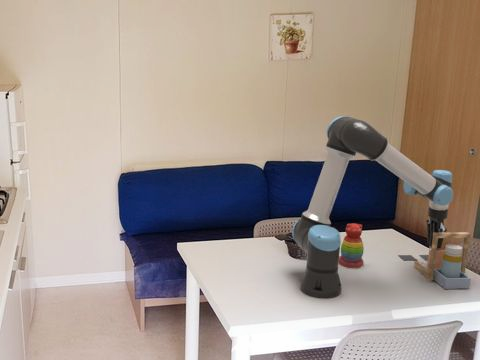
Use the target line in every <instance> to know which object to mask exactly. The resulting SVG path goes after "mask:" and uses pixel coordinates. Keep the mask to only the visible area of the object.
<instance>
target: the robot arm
mask: <svg viewBox="0 0 480 360" xmlns="http://www.w3.org/2000/svg"><path fill="white" fill-rule="evenodd" d="M326 128H327V129H326V136H327V142H326V146H325V149H326V150H327V154H326V158H325V160H324V162H323V165H322V169H321V172H320V175H319V176H318V180H317V183H316V185H315V188H314V191H313V193H312V194H313V195H312V197H311V199H310V203H309V206H308V209H307V210H305V211H303V212H302V214H301V217H300V218H299V219H298V220H296V221H295V222H294V223H293V227H292V231H291V236H292V238H293V240H294V242H295V244H296V245H297V246H298V247H299V248H300V249H301V250H303V251H304V252H305V254H306V266H305V267H306V268H305V270H304V273H303V276H302V279H301V280H300V286H299V288H300V291H302V293H304V294H306V295H308V296H311V297H315V298H322V299H325V298H326V299H327V298H328V299H330V298H335V297H338V296H339V295H340V294H341V293H342V283H341V279H340V275H339V264H340V263H339V256H340V253H341V245H342V243H341V242H342V240H341V233H340V232H339V230H337V229H336V228H335V227H332V226H331V224H332V223H331V220H330V215H331V212H332V210H333V207H334V204H335V201H336V199H337V196H338V193H339V190H340V188H341V184H342V181H343V178H344V176H345V173H346V170H347V167H348V164H349V162H350V160H351V159H353V158H355V156H356V154H358V155H361V156H364V157H365V158H366V159H368V160H369V161H371V162H372V161H375V162H377V163H378V164H380V165H381V166H383V167H384V168H385V169H387V170H388V171H390V172H391V173H393V174H394V175H395V176H397V177H398V178H399V179H401V180H402V181H403V191H404V193H405V194H406V195H408V196H419V197H421V198H423V199H426V200H428V206H429V207H428V211H427V217H429V219H426V221H425V222H426V243H427V244H428V246H429V250H431V248H432V240H433V233H438V232H448V231H447V227H444V225H445V222H444V220H446V219H447V218H448V213H449V207H450V206H449V205H450V203H451V202H452V200H453V198H454V191H453V189H452V184H453V174H452V172H451V171H449V170H443V169H436V170H433V171H432V174H430V173H428V172H427V171H426V170H424V169H423V168H422V167H420V166H419V165H417V163H415V162H413V161H412V160H411V159H410V158H408V157H407V156H405V155H404V154H403V153H402V152H400V151H399V150H397V149H396V148H395V147H394V146H392V145H391V144H390V143H389V140H388V138H387V137H385V136H384V135H382V133H381V132H379V131H378V130H377V129H376V128H374V127H373V126H372V125H370V124H369V122H366V121H364V120H361V119H358V118H353V117H351V116H349V115H348V116H345V115H344V116H338V117H336V118H334V119H333V120H331V121H330V123H329V124H328V126H327V127H326ZM444 239H445V238H438V242H437V250H439V249H441V248H442V245H443V241H444Z"/></svg>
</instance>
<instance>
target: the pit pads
mask: <svg viewBox="0 0 480 360" xmlns="http://www.w3.org/2000/svg"><path fill="white" fill-rule="evenodd" d="M428 256H429V254H419V257H420V258H422V259H423V260H424V261H428ZM398 257H399V258H400V259H401V260H402V261H403V262H407V261H409V262H411V261H414V262H415V261H418V260H417V259H416V258H415V257H414V256H413V255H411V254H405V255H404V254H402V255H401V254H399V255H398Z"/></svg>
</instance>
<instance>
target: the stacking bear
mask: <svg viewBox="0 0 480 360" xmlns="http://www.w3.org/2000/svg"><path fill="white" fill-rule="evenodd" d="M362 229H363V224H360V223H354V222H353V223H347V224H346V227H345V236H344V237H343V239H342V241H341V242H342V243H341V244H340V255H339V263H338V264H339V265H341V266H343V267H346V268H350V269H351V268H352V269H356V268H357V269H358V268H360V267H362V266H363V265H364V259H363V254H364V249H365V248H364V241H363V239H362V238H361V236H362V232H363V230H362Z"/></svg>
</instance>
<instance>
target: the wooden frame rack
mask: <svg viewBox="0 0 480 360" xmlns="http://www.w3.org/2000/svg"><path fill="white" fill-rule="evenodd" d="M471 235H472V234H471V233H470V232H467V231H466V232H465V231H464V232H462V231H461V232H460V231H459V232H458V231H457V232H454V231H453V232H449V231H446V232H438V233H433V240H432V248H431V257H430V265H429V270H428V269H427V267H425V266H424V265H423V264H421V263H420V262H419V261H418V260H417V261H414V265H413V268H414V269H415V270H416V271H417V272H419V273H420V275H422V276H423V277H424V278H425V279H427V280H428V281H429V282H433V281H434V279H433V275H434V266H435V258H436V250H438V249H437V242H438V238H444V239H463V245H462V255H461V257H462V265H461V272H463V273H464V274H466V267H467V259H468V253H469V246H470V238H471Z"/></svg>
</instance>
